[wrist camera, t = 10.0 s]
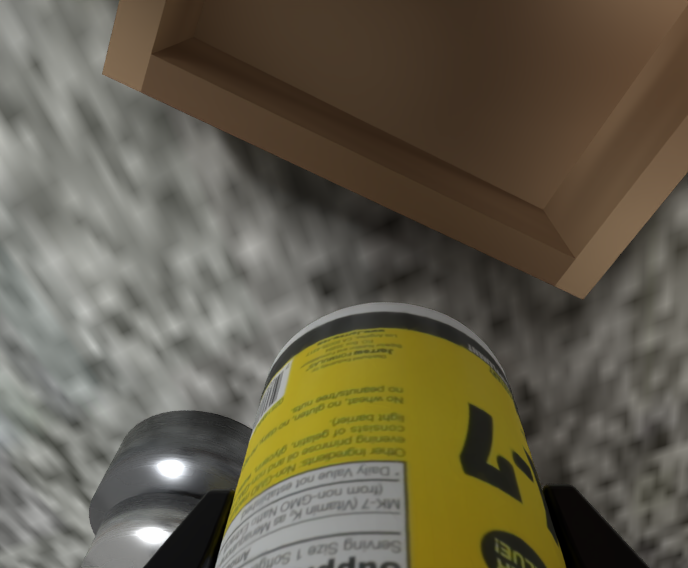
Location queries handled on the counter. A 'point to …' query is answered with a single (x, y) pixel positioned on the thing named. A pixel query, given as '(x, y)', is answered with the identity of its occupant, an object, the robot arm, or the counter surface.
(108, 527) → the crank
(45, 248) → the counter surface
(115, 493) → the block
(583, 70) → the tray
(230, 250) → the counter surface
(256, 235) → the counter surface
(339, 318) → the supplement bottle
